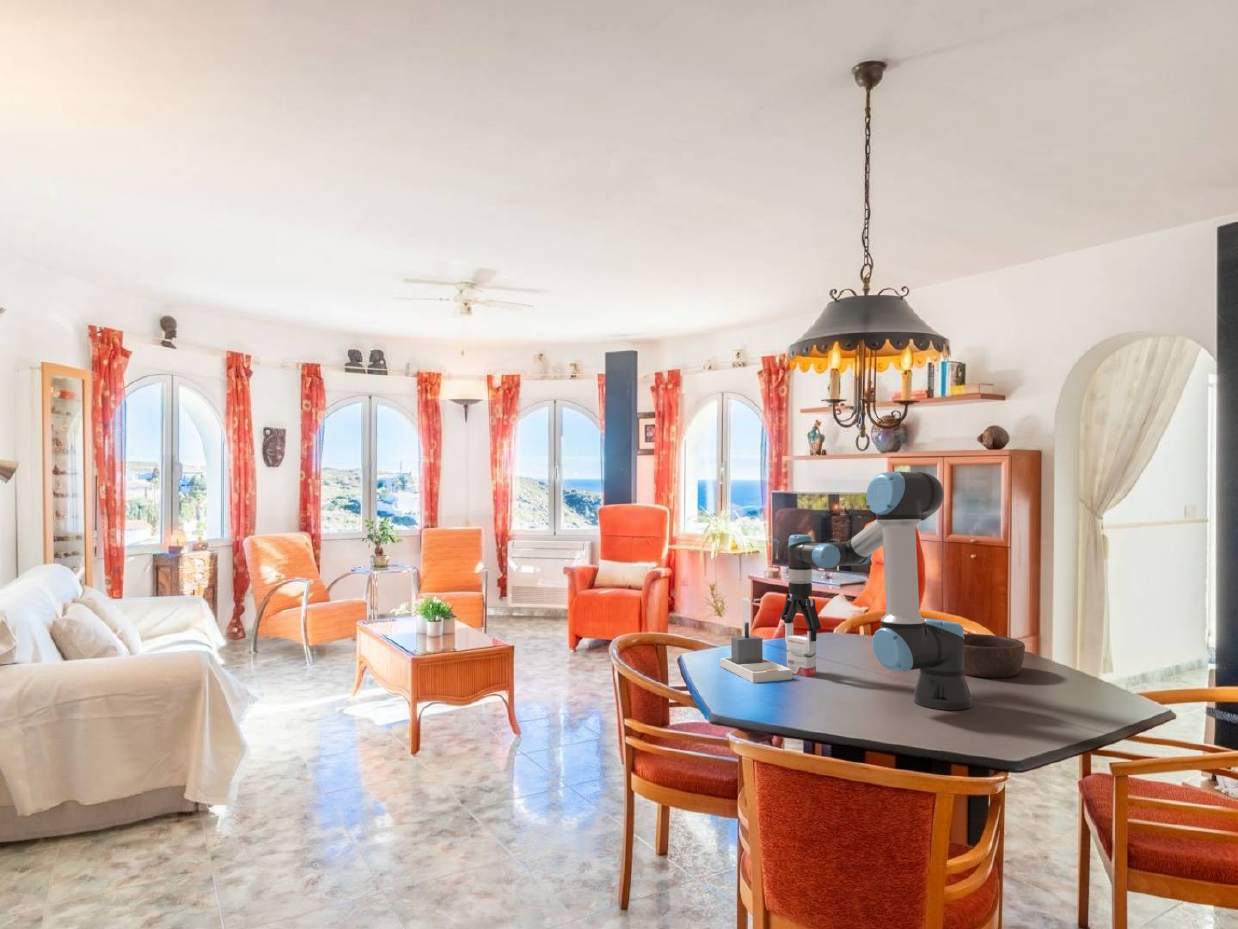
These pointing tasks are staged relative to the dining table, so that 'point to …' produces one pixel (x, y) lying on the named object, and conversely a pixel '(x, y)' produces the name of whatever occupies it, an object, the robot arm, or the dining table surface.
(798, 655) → the ink box
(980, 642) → the wooden bowl
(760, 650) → the grey block with handle
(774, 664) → the tray
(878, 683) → the dining table surface
